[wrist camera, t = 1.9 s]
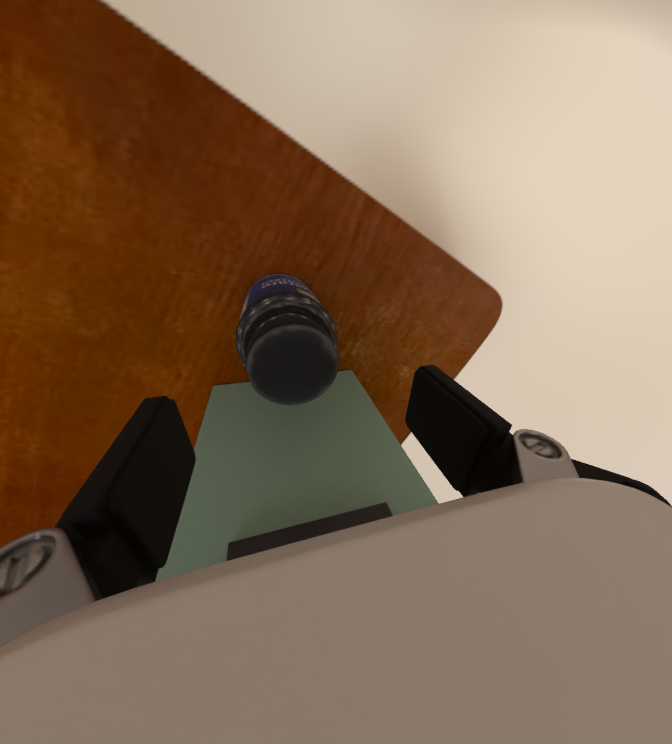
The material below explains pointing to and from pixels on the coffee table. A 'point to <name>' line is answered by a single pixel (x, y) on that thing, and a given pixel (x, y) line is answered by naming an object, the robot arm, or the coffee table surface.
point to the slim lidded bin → (289, 474)
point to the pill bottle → (286, 341)
